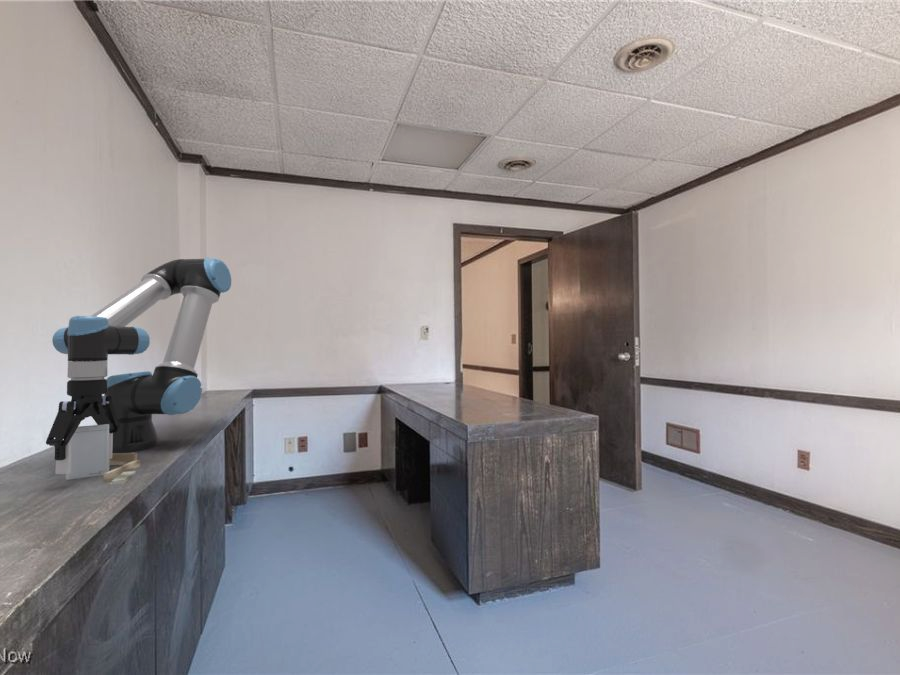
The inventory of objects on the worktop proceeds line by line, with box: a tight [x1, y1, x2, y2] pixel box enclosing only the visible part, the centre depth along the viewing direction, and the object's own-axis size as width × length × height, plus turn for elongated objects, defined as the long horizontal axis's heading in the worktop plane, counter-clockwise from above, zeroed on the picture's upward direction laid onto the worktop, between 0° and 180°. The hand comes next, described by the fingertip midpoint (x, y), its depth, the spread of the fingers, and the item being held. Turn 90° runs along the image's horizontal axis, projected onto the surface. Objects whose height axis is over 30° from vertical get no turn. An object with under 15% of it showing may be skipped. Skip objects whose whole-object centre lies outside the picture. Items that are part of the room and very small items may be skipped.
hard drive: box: [65, 424, 110, 481], centre depth 105 cm, size 2×8×12 cm, turn 119°
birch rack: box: [103, 452, 142, 483], centre depth 107 cm, size 16×13×3 cm
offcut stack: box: [109, 470, 137, 485], centre depth 102 cm, size 8×3×1 cm, turn 16°
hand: (85, 465), depth 104 cm, fingers open, 13 cm apart
